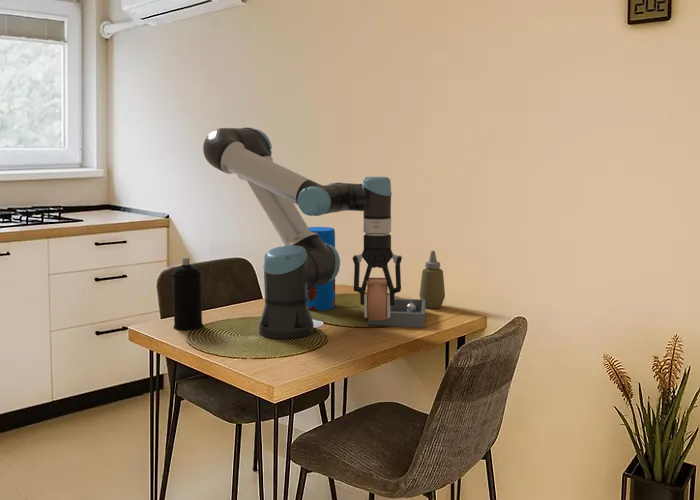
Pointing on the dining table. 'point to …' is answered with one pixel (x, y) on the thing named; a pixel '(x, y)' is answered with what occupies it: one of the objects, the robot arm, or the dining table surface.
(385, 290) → the shaker
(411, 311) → the ball
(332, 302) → the thermos
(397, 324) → the tray
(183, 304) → the aerosol can
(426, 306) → the squeeze bottle
